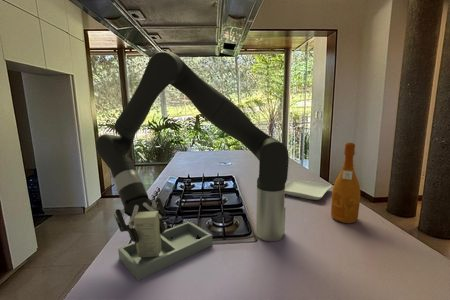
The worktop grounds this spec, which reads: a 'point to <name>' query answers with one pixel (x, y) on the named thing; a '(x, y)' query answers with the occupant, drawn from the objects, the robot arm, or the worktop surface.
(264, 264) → the worktop surface
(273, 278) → the worktop surface
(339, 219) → the wine bottle
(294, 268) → the worktop surface
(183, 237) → the carton tray
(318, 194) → the salad plate
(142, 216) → the skincare box
